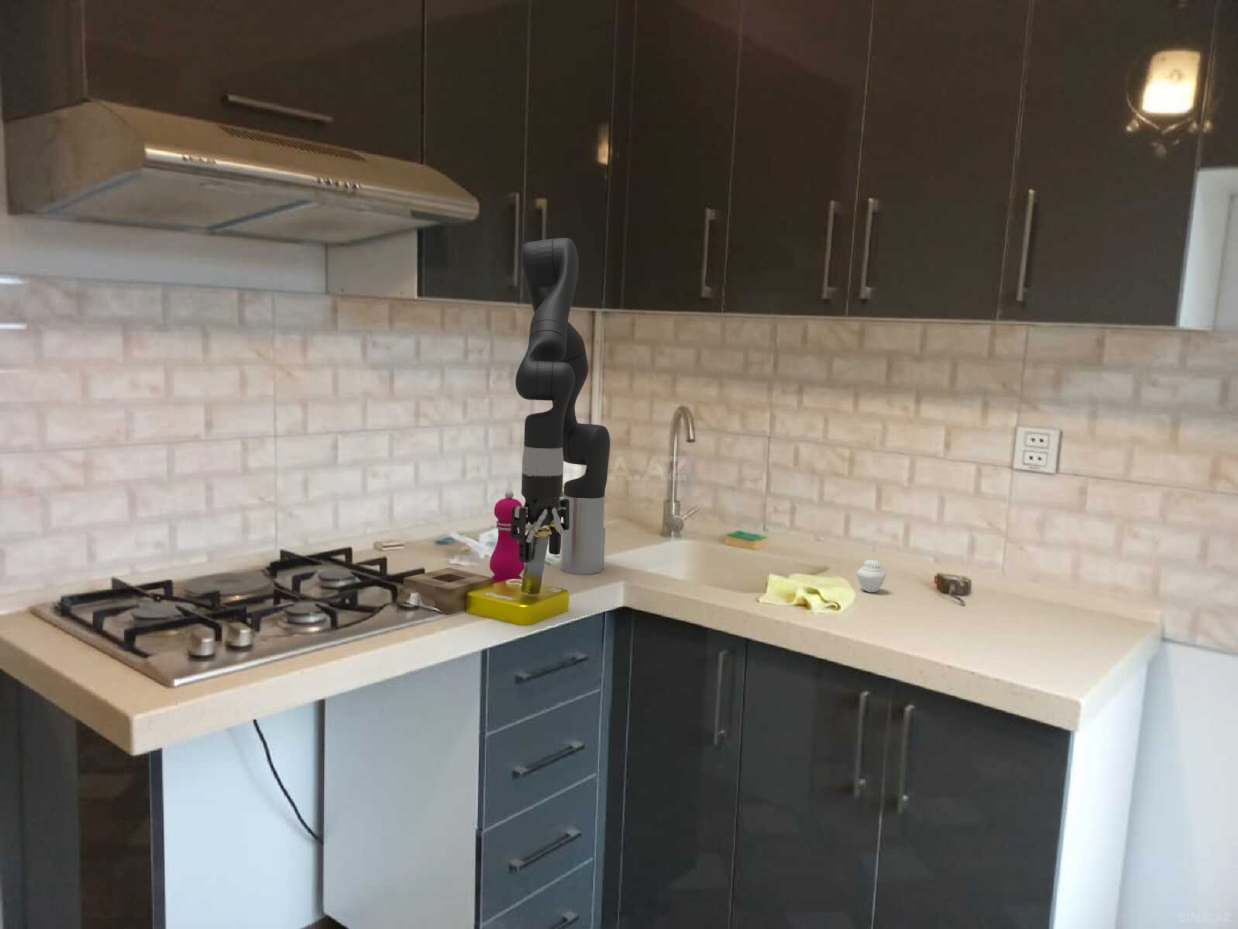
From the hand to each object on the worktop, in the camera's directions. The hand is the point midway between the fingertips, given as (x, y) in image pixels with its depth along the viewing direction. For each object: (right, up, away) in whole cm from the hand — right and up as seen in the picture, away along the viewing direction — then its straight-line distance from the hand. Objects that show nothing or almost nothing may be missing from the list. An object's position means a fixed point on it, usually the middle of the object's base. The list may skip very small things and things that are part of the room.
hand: (539, 557), depth 174 cm
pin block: (-18, -10, +7) cm, 22 cm away
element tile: (-5, -11, +4) cm, 13 cm away
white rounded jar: (+70, -11, +32) cm, 77 cm away
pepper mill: (-9, -8, +23) cm, 26 cm away
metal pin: (-2, -6, +2) cm, 7 cm away
